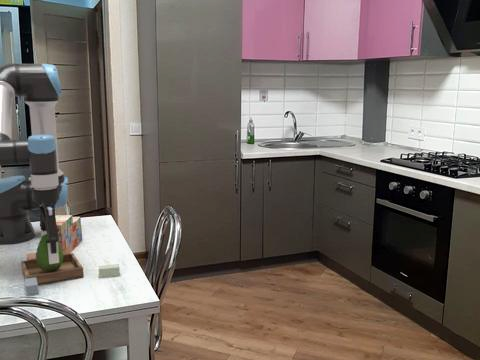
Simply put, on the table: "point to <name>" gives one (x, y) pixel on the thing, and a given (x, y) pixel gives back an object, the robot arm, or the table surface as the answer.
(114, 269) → the sage brick
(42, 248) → the fruit
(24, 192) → the robot arm
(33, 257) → the terracotta brick
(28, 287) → the slate brick
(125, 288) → the table surface
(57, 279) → the tray
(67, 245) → the stack of blocks
